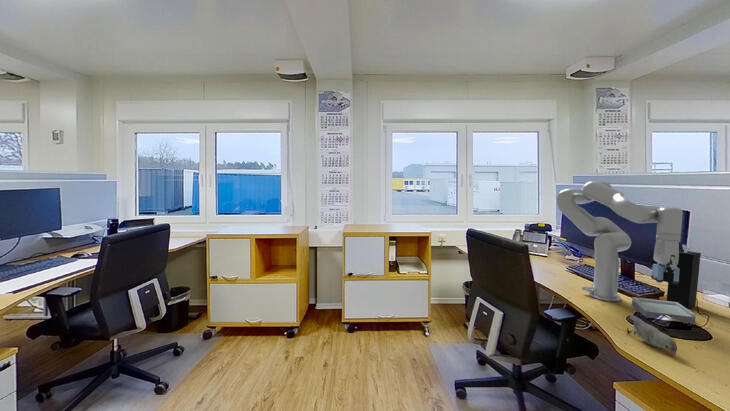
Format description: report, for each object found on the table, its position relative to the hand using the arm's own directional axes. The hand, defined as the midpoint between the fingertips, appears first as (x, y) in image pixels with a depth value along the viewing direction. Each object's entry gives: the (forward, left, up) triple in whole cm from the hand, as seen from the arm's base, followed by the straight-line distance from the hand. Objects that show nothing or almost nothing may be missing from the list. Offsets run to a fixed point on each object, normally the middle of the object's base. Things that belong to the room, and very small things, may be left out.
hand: (664, 279), depth 138 cm
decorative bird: (-16, -33, -16) cm, 40 cm away
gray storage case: (0, 0, -1) cm, 1 cm away
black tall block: (+14, +18, -16) cm, 28 cm away
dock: (0, 0, -16) cm, 16 cm away
